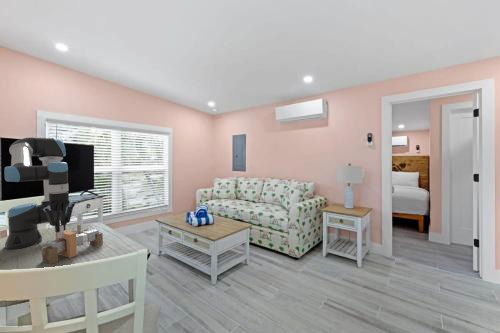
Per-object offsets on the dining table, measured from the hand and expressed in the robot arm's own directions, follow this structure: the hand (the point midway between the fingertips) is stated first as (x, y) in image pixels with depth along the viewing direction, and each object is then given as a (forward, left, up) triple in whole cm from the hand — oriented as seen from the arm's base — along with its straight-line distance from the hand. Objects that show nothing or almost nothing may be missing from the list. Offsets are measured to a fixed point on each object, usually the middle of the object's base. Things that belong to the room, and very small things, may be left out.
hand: (60, 237), depth 110 cm
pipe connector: (-16, +17, -11) cm, 26 cm away
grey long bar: (0, +6, -6) cm, 9 cm away
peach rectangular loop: (0, +2, -10) cm, 11 cm away
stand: (0, +6, -10) cm, 12 cm away
